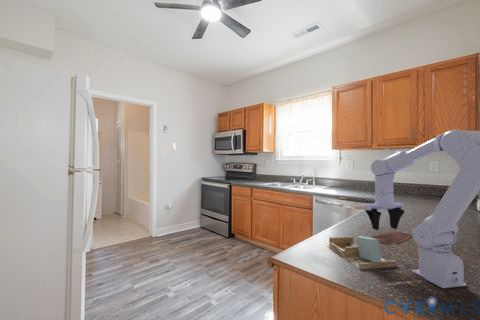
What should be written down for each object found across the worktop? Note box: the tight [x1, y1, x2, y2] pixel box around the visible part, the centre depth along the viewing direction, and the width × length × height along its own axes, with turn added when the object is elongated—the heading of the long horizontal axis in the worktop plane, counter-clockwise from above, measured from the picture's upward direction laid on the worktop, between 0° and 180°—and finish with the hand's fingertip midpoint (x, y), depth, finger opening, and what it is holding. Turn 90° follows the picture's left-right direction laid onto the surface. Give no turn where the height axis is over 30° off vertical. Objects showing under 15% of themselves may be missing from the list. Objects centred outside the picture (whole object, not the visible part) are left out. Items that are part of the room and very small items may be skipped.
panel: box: [356, 235, 382, 262], centre depth 75 cm, size 8×2×7 cm, turn 9°
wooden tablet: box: [368, 231, 413, 246], centre depth 99 cm, size 26×2×10 cm
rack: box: [326, 235, 398, 270], centre depth 80 cm, size 20×13×4 cm, turn 9°
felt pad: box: [354, 258, 373, 263], centre depth 74 cm, size 6×8×1 cm
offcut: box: [348, 241, 358, 246], centre depth 87 cm, size 4×3×2 cm
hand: (384, 228), depth 81 cm, fingers open, 7 cm apart
